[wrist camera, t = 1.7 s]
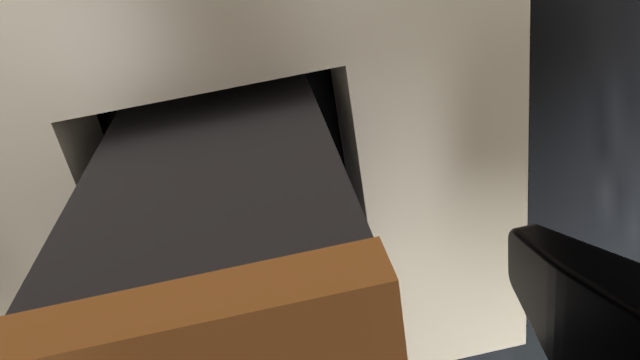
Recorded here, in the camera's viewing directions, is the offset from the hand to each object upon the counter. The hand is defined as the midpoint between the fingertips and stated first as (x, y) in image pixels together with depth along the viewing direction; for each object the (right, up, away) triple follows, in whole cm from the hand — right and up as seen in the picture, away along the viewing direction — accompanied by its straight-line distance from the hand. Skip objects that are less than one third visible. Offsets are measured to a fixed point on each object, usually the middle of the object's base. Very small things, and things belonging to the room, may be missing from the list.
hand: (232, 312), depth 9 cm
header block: (-1, +2, +5) cm, 5 cm away
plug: (-1, +2, +5) cm, 5 cm away
